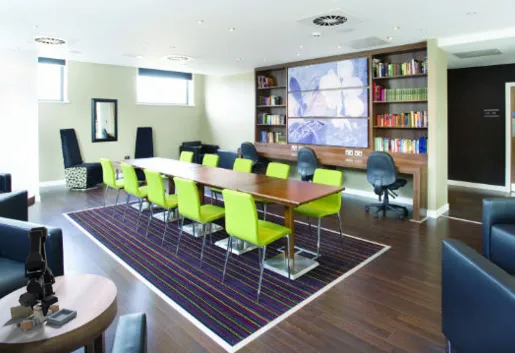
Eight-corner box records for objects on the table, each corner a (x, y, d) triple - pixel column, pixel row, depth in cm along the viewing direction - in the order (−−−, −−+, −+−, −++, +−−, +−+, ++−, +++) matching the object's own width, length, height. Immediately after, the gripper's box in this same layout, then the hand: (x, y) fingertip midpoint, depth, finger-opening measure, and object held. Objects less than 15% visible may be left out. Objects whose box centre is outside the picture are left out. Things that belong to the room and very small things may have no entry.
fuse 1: (21, 329, 167) (20, 321, 166) (27, 326, 170) (26, 318, 169) (25, 330, 166) (24, 322, 165) (31, 327, 169) (30, 319, 168)
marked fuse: (34, 321, 174) (32, 305, 173) (41, 317, 177) (39, 302, 176) (40, 322, 173) (38, 307, 171) (47, 318, 176) (45, 303, 175)
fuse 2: (49, 313, 181) (48, 305, 180) (54, 310, 184) (54, 302, 183) (54, 314, 180) (53, 306, 179) (59, 311, 183) (58, 303, 182)
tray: (46, 322, 173) (46, 317, 173) (63, 312, 182) (63, 307, 182) (60, 325, 170) (60, 321, 170) (77, 315, 179) (76, 310, 179)
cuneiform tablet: (39, 315, 180) (10, 322, 174) (40, 313, 183) (11, 319, 178) (38, 301, 180) (9, 307, 174) (38, 299, 184) (10, 305, 178)
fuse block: (16, 326, 169) (16, 321, 169) (47, 309, 184) (46, 305, 184) (27, 329, 167) (27, 324, 167) (57, 312, 182) (57, 307, 181)
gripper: (6, 289, 168) (10, 320, 170) (35, 295, 161) (39, 328, 164) (28, 279, 178) (32, 308, 181) (57, 284, 172) (60, 315, 174)
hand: (40, 315), depth 175 cm, fingers open, 6 cm apart
